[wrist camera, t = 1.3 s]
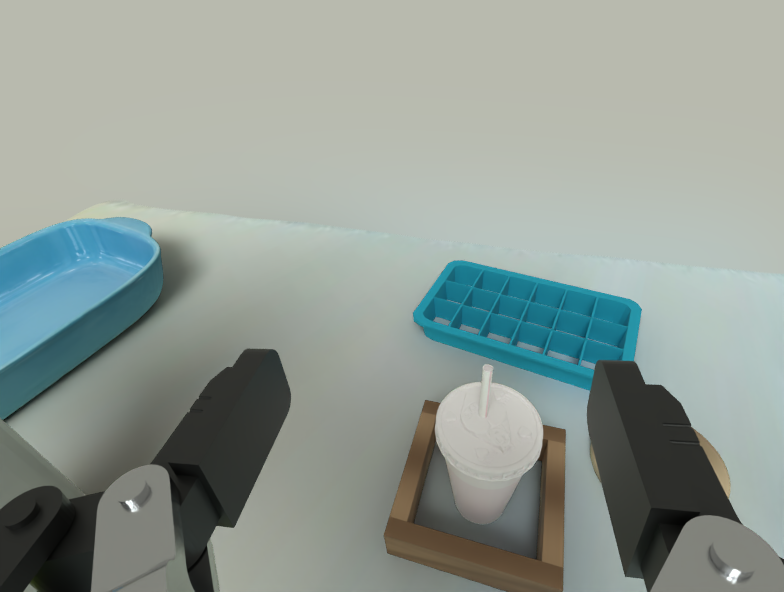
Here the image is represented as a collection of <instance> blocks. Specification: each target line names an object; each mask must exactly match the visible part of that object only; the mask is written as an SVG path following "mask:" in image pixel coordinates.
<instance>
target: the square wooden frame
mask: <svg viewBox="0 0 784 592" xmlns="http://www.w3.org/2000/svg"><path fill="white" fill-rule="evenodd" d="M440 404H441V403H438V402H433V401H428V400H425V403H424V406H423V409H422V413H421V416H420V419H419V422H418V426H417V429H416V432H415V435H414V439H413V442H412V445H411V448H410V452H409V455H408V458H407V461H406V465H405V468H404V471H403V474H402V478H401V481H400V484H399V487H398V491H397V494H396V497H395V500H394V504H393V507H392V510H391V513H390V517H389V520H388V523H387V526H386V530H385V533H384V538H385V543H386V548H387V553H388V554H391V555H394V556H398V557H401V558H404V559H407V560H410V561H413V562H416V563H419V564H423V565H426V566H429V567H432V568H435V569H438V570H441V571H444V572H448V573H451V574H454V575H457V576H460V577H463V578H466V579H469V580H472V581H476V582H479V583H482V584H485V585H488V586H491V587H494V588H497V589H501V590H504V591H507V592H562V591H563V560H564V500H565V440H566V430H565V429H560V428H555V427H551V426H546V425H543V440H542V449H541V452H540V456H539V458H538V459H537V460H539V461H542V472H541V489H540V506H539V523H538V540H537V557H536V559H532V558H529V557H525V556H522V555H519V554H515V553H512V552H508V551H505V550H502V549H498V548H495V547H491V546H488V545H485V544H481V543H478V542H475V541H471V540H468V539H464V538H461V537H458V536H454V535H451V534H447V533H444V532H441V531H437V530H434V529H430V528H427V527H424V526H420V525H417V524H414V520H415V517H416V513H417V509H418V505H419V502H420V498H421V494H422V490H423V486H424V483H425V479H426V475H427V471H428V467H429V464H430V460H431V456H432V452H433V449H434V445H435V441H436V435H435V424H436V414H437V410H438V408H439V405H440Z"/></svg>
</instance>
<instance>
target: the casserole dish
mask: <svg viewBox="0 0 784 592" xmlns="http://www.w3.org/2000/svg"><path fill="white" fill-rule="evenodd" d="M151 235H152V229H151V227H150V226H149V225H148V224H147V223H145V222H143V221H140V220H137V219H132V218H126V217H115V218H106V219H76V220H70V221H66V222H62V223H59V224H55V225H52V226H49V227H47V228H44V229H42V230H39V231H36V232H34V233H32V234H30V235H27V236H25V237H23V238H21V239H19V240H16V241H14V242H12V243H10V244H8V245H6V246H4V247H2V248H0V418H1V419H2V420H3V419H5V418H6V417H8V416H9V415H10V414H12V413H13V412H15V411H16V410H17V409H19V408H20V407H21V406H23V405H24V404H26V403H27V402H28V401H30V400H31V399H33V398H34V397H35V396H37V395H38V394H40V393H41V392H42V391H44V390H45V389H46V388H48V387H49V386H51V385H52V384H53V383H55V382H56V381H58V380H59V379H60V378H61V377H62V376H63V375H65V374H66V373H68V372H70V371H71V370H72V369H74V368H75V367H76V366H78V365H79V364H80V363H82V362H83V361H85V360H86V359H87V358H89V357H90V356H91V355H93V354H94V353H95V352H97V351H98V350H99V349H101V348H102V347H103V346H105V345H106V344H107V343H109V342H110V341H111V340H113V339H114V338H115V337H117V336H118V335H119V334H120V333H122V332H123V331H124V330H126V329H127V328H128V327H130V326H131V325H132V324H133V323H135V322H136V321H137V320H138V319H139V318H141V317H142V316H143V315H144V314H145V313H146V312H147V311H148V310H149V308H150V307H151V306H152V305H153V304H154V303H155V302H156V300H157V299H158V297H159V295H160V293H161V290H162V286H163V268H162V261H161V249H160V246H159V244H158V243H157V242H156V241H155V240H154V239H153V238H152V237H151Z"/></svg>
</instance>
